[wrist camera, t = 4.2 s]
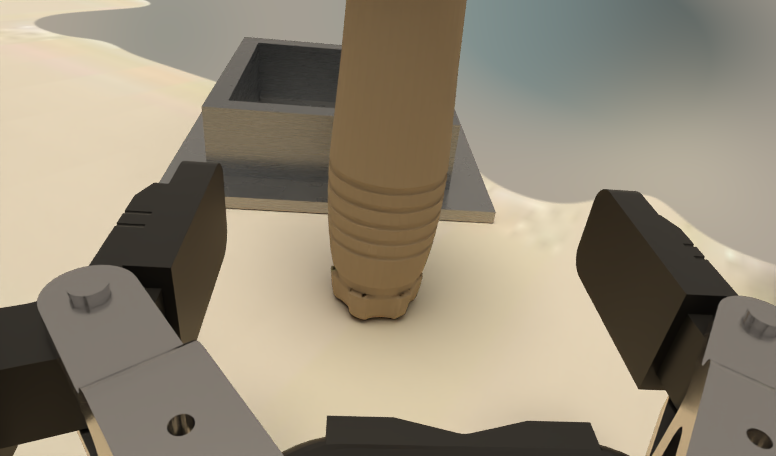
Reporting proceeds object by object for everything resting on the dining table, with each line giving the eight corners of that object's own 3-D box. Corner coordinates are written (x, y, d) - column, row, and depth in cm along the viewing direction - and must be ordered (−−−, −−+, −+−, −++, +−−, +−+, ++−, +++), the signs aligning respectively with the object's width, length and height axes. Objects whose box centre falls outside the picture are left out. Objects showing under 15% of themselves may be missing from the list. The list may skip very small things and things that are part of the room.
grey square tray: (154, 203, 26) (142, 120, 24) (222, 86, 39) (218, 26, 37) (493, 222, 28) (511, 146, 25) (447, 103, 41) (457, 46, 39)
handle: (331, 242, 25) (352, -174, 17) (470, 290, 23) (570, -152, 15) (269, 305, 21) (257, -194, 13) (429, 368, 19) (533, -169, 11)
